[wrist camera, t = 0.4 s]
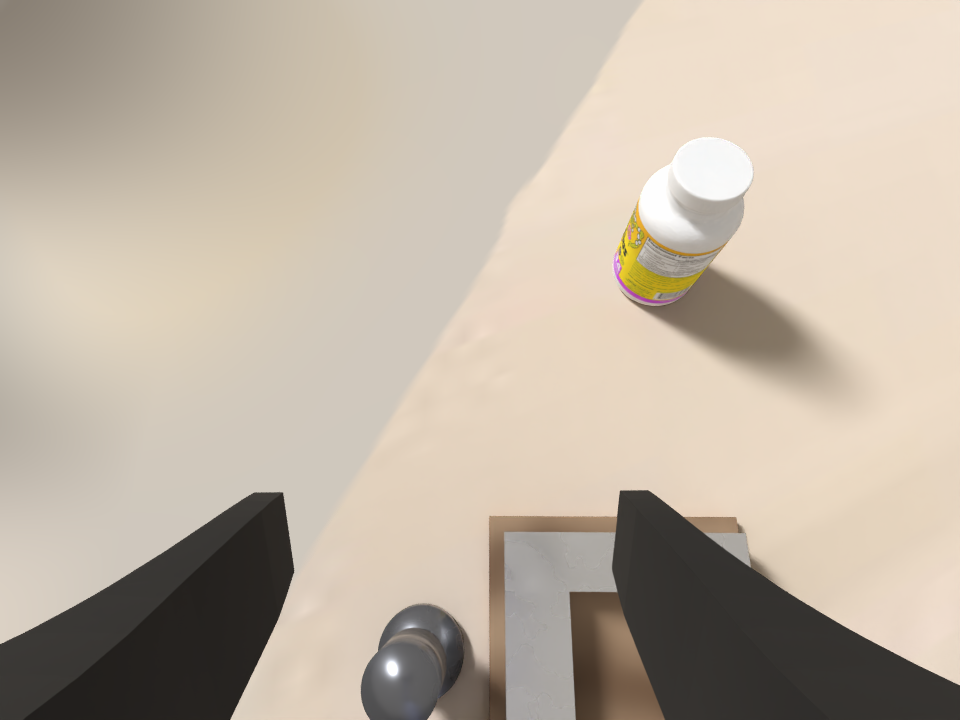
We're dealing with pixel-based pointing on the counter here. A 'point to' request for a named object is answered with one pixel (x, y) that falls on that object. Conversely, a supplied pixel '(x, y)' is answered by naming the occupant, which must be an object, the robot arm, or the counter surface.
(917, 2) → the counter surface
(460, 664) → the dark grey knob
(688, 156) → the supplement bottle
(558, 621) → the keyhole plate
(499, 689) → the keyhole board
